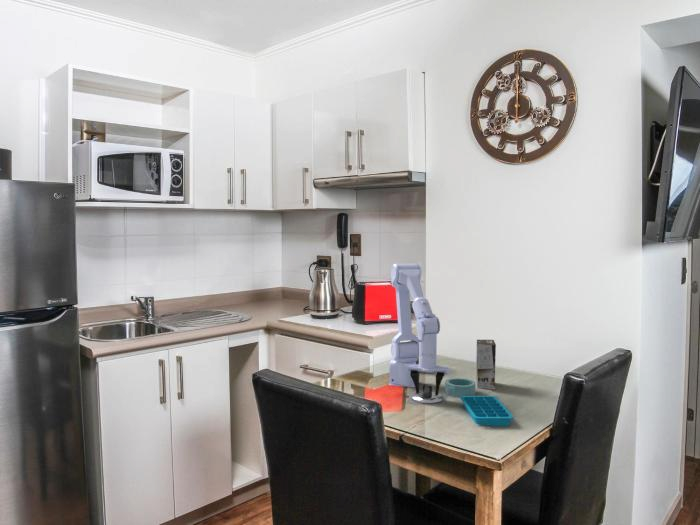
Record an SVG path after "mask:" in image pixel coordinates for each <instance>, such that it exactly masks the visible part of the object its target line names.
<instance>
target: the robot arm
mask: <svg viewBox="0 0 700 525" xmlns="http://www.w3.org/2000/svg"><path fill="white" fill-rule="evenodd" d="M421 279H422V267H421V265H420V263H417V262H416V263H415V262H414V263H393V264H392V265H391V269H390V282H391V287H393V288H394V289H395V296H396V297H395V298H396V311H397V312H396V313H397V324H398V325H397V329H398V333H397V334H396V335H394V337H392V338H391V347H390V353H391V356H392V358H391V359H390V362H389V369H388V370H389V373H388V376H389V382H388V386H395V387H404V388H405V387H407V388H415V392H416V394H419V392H420V373H429V374H431V373H432V374H435V392H434V393H435V395H436V396H438V394H439V390H440V386H441V383H442V380H443V378H444V376H445V375H451V366H450V367H449V366H441V365H437V350H438V349H437V348H438V346H437V342H438V341H437V336H438V334H440V330H441V323H440V319H439V317H438V316H436V314H434V313H433V311H432V308H431V305H430V302H429V300H428V299H427V298H425V297H424V294H423V289H422V285H421ZM410 295H411V296H410ZM410 297H411V298H412V301H413V302H412V303H411V298H410ZM411 307H412V308H411ZM411 309H412V310H413V313H414V316H415V319H416V323H415V328H416V333H417V335H415V333H413V328H412V327H413V326H412V325H413V324H412V311H411ZM408 341H412V342H408ZM418 358H419V364H416V361H417V360H418Z"/></svg>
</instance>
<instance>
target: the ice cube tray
mask: <svg viewBox="0 0 700 525" xmlns="http://www.w3.org/2000/svg"><path fill="white" fill-rule="evenodd" d="M459 398H460V400H461V401H462V404H463V405H462V406H463V407H464V409H465V410H466V411H467V413H468V414H469V416H470V417H471V419H472V420H473V422H474V423H475V425H484V426H485V425H486V426H489V427H498V426H499V427H500V426H501V427H509V426H510V424H511V420H512V419H514V417H515V416H514V415H513V414H512V413H511V412H510V411H509V410H508V409H507V407H506V406H505V405H504V404H503V402H501V400H500V399H499V398H498V397H497V396H495V395H474V396H461V397H459Z"/></svg>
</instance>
